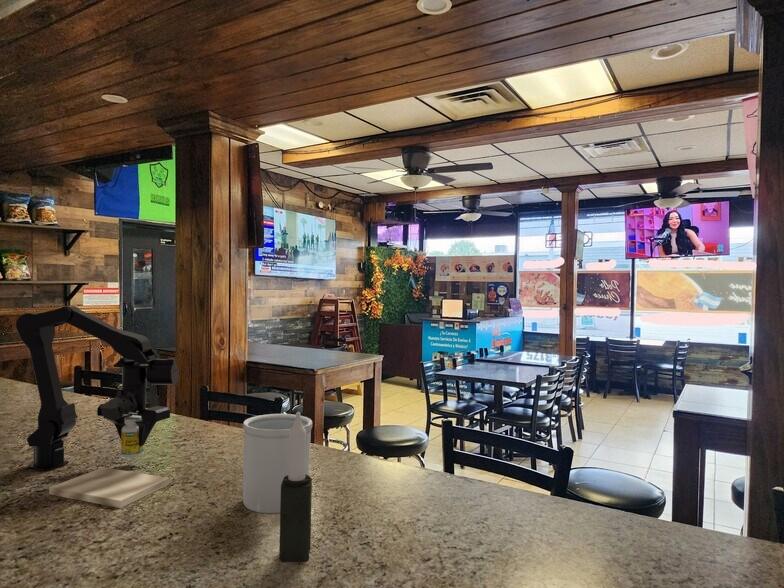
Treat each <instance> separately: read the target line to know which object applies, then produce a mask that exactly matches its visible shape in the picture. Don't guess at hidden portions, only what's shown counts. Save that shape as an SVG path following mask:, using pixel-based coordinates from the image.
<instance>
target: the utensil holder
mask: <svg viewBox="0 0 784 588" xmlns="http://www.w3.org/2000/svg"><path fill="white" fill-rule="evenodd" d="M300 418H301V422H302V425H303V427H304V428H305V430H306V464H305V474H306V475H309V472H310V454H311V453H310V452H311V439H312V438H311V433H312V428H313V420H312V419H311V418H310V417H307V416H303V415H300ZM295 419H296V414H291V413H270V414H263V415H262V414H261V415H256V416H252V417H249V418H246V419H245V420H244V421H243V424H242V426H243V427H242V429H243V431H244V433H243V434H244V436H243V437H244V438H243V440H244V441H243V472H242V475H243V478H242V479H243V481H242V489H243V490H242V492H243V493H242V494H243V495H242V498H243V500H242V501H243V502H242V503H243V505H244V507H245V508H246V509H248V510H250V511H253V512H256V513H262V514H280V501H281V484H282V481H283V479H284V477H285V476H287V475H288V469H289V431H290V430H291V428H292V427H293V425H294V422H295ZM309 476H310V475H309Z"/></svg>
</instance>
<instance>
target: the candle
mask: <svg viewBox="0 0 784 588" xmlns="http://www.w3.org/2000/svg"><path fill="white" fill-rule="evenodd" d="M295 415H296V419H295V422H294V425H293V427H292V428H291V430H290V431H289V469H288V475H287V476H285V477H284V479H283V481H282V484H281V501H280V513H279V552H278V553H279V554H278V556H279V557H278V559H279V561H280V562H282V563H304V562H307V561H309V559H310V551H311V542H312V541H311V539H312V537H311V535H312V534H311V533H312V500H313V498H312V496H313V495H312V493H313V492H312V490H313V489H312V488H313V487H312V486H313V484H312V483H313V479H312V477H311V476H310V475H306V474H305V464H306V430H305V428H304V427H303V425H302V422H301V418H300V416H302V415H301V412H300V411H296V413H295ZM309 550H310V551H309Z"/></svg>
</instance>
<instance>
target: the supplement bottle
mask: <svg viewBox="0 0 784 588" xmlns="http://www.w3.org/2000/svg"><path fill="white" fill-rule="evenodd" d="M139 420H141V416H137V415H132V416H129V417H126V418H125V422H124V423H125V424H126V425H125V426H123V427H122V431H121V439H120V443H121V444H120V454H121V456H122V457H124V458H136V457H140V456H142V455H143V454H145V444H144V445H143V446H139V427H138V425H137V424H136V423H135V422H136V421H139Z"/></svg>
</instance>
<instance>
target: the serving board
mask: <svg viewBox="0 0 784 588" xmlns="http://www.w3.org/2000/svg"><path fill="white" fill-rule="evenodd" d="M169 485H170V477H167V476H166V477H165V476H159V475H152V474H147V473H141V472H135V471H130V470H124V469H123V470H122V469H117V468H111V467H105V466H102V467H100V468H97V469H94V470H93V471H90V472H87V473H84V474H81V475H79V476H76V477H74V478H71V479H69V480H65V481H63V482H61V483H58V484H56V485H53V486H50V487H49V488H48V489H49V494H48V495H52V496H56V497H61V498H65V499H72V500H77V501H82V502H89V503H93V504H97V505H101V506H102V505H104V506H108V507H114V508H117V509H121V508H124V507H125V506H128V505H130V504H132V503H135V502H136V501H138V500H140V499H142V498H144V497H146V496H148V495H150V494H152V493H154V492H156V491H159V490H160V489H163V488H165V487H167V486H169Z"/></svg>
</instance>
